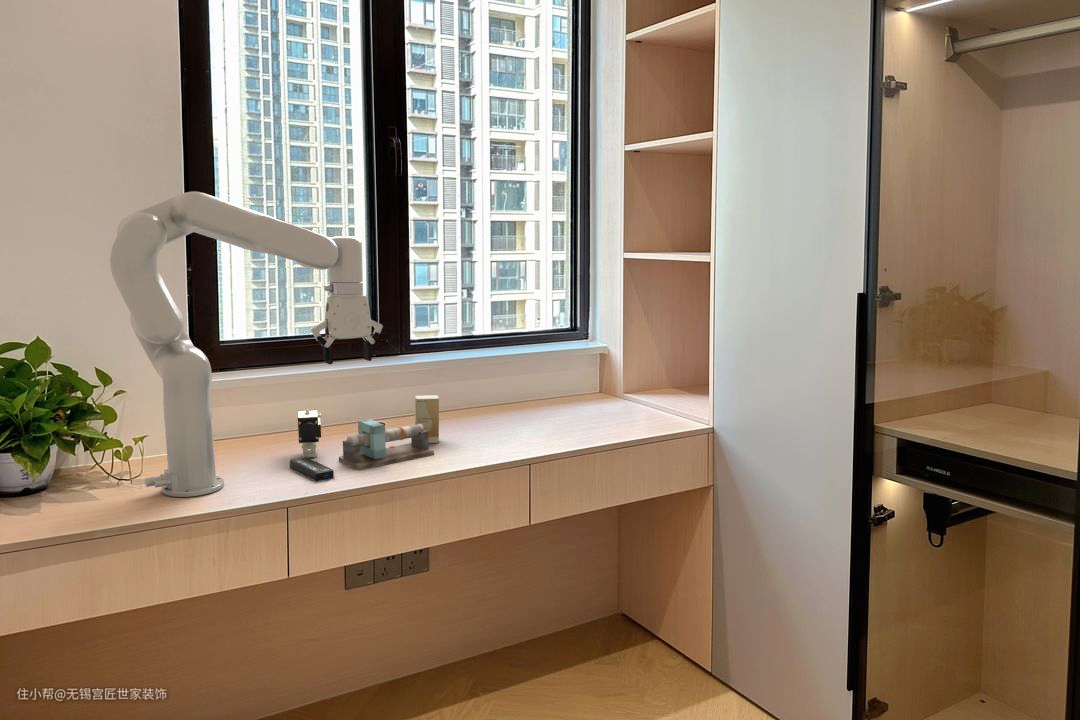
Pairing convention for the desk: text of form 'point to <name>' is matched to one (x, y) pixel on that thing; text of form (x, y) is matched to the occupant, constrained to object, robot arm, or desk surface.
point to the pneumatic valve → (309, 431)
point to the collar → (373, 438)
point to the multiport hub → (311, 469)
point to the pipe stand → (393, 453)
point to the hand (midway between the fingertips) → (348, 361)
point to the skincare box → (428, 415)
